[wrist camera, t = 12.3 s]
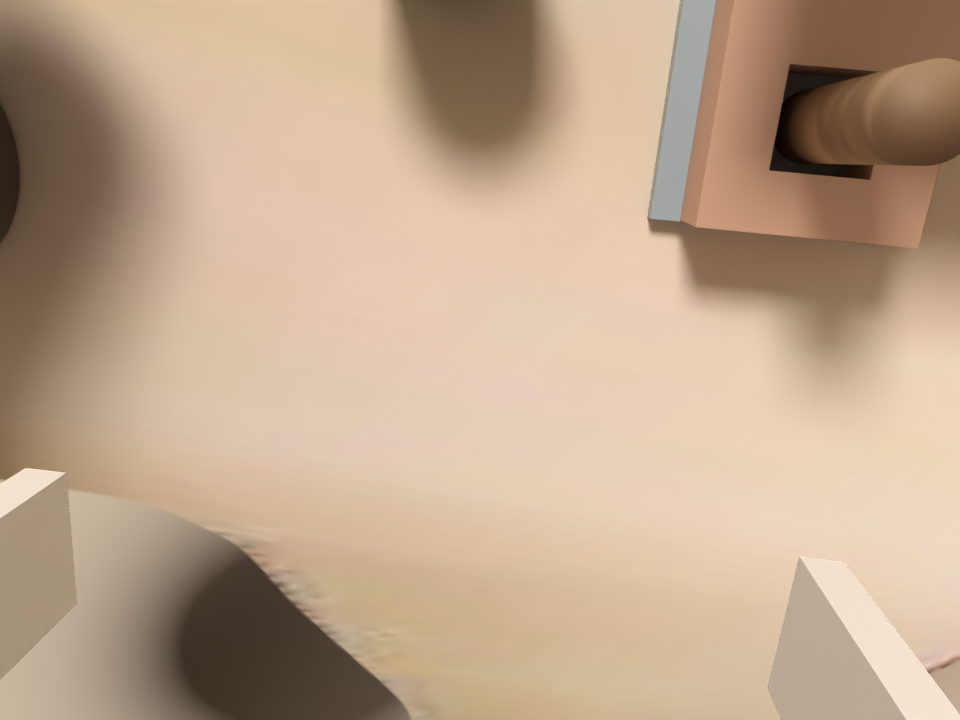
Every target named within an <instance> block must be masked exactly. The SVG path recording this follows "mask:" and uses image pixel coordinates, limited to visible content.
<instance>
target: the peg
mask: <svg viewBox="0 0 960 720" xmlns="http://www.w3.org/2000/svg"><path fill="white" fill-rule="evenodd" d="M774 146H775V148H776V149H777V151H778V152H779V153H780V154H781V155H782V156H783V157H784V158H786V159H787V160H789V161H792V162H795V163H803V164H851V165H900V166H931V165H936V164H940V163H943V162H946V161H948V160H950V159H952V158H954V157H955V156H957V155H959V154H960V62H959V61H956V60H953V59H947V58H936V59H930V60H925V61H921V62H917V63H913V64H909V65H905V66H901V67H897V68H893V69H889V70H885V71H881V72H877V73H873V74H869V75H865V76H861V77H856V78H852V79H848V80H844V81H840V82H836V83H832V84H828V85H824V86H820V87H816V88H812V89H808V90H804V91H800V92H798V93H795V94H793V95H792V96H790V97H789V98H787V99H786V100H785V101H784V102H783V103H782V106H781V112H780V117H779V122H778V127H777V132H776V137H775V142H774Z"/></svg>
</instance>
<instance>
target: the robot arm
mask: <svg viewBox="0 0 960 720" xmlns="http://www.w3.org/2000/svg"><path fill="white" fill-rule="evenodd" d="M18 187H19V171H18V160H17V153H16V148H15V144H14V140H13V136H12V133H11V130H10V127H9V124H8V121H7V119H6V116H5V114H4V112H3V110H2V108H1V106H0V242H1V240H2V239H3V237H4V235H5V233H6V231H7V230H8V227H9V225H10V223H11V220H12V217H13V214H14V211H15V207H16V202H17V196H18ZM76 604H77V600H76V588H75V575H74V562H73V550H72V537H71V524H70V512H69V500H68V486H67V474H66V472H57V471H48V470H39V469H31V468H25V469H23V470H21V471H20V472H18V473H17V474H15V475H13V476H12V477H10V478H9V479H7V480H6V481H4V482H2V483H1V484H0V679H1V678H2V677H3V676H4V675H5V674H6V673H7V672H8V671H9V670H10V669H11V668H12V667H14V666H15V665H16V664H17V662H18V661H20V660H21V658H22V657H24V656H25V655H26V654H27V653H28V652H29V651H30V650H31V649H32V648H33V647H34V646H35V645H36V643H38V642H39V641H40V640H41V639H42V638H43V637H44V636H45V635H46V634H47V633H48V632H49V631H50V629H52V628H53V627H54V626H55V625H56V624H57V623H58V621H60V620H61V619H62V618H63V617H64V616H65V615H66V614H67V613H68V612H69V611H70V610H71V609H72V608H73V607H74V606H75V605H76ZM768 690H769V692H770V695H771V697H772V699H773V701H774V704H775V706H776V708H777V711H778V713H779V715H780V718H781V720H960V714H959V713H958V712H957V710H956V709H955V708H954V707H953V705H952V704H951V702H950V701H949V700H948V698H947V697H946V696H945V695H944V693H943V692H942V691H941V689H940V688H939V687H938V685H937V684H936V683H935V682H934V680H933V679H932V677H931V676H930V675H929V673H928V672H927V671H926V669H925V668H924V667H923V665H922V664H921V663H920V661H919V660H918V659H917V657H916V656H915V655H914V653H913V652H912V651H911V649H910V648H909V647H908V646H907V644H906V643H905V642H904V640H903V639H902V638H901V636H900V635H899V634H898V632H897V631H896V630H895V628H894V627H893V626H892V624H891V623H890V622H889V620H888V619H887V618H886V616H885V615H884V614H883V612H882V611H881V610H880V608H879V607H878V606H877V604H876V603H875V602H874V601H873V599H872V598H871V597H870V595H869V594H868V593H867V591H866V590H865V589H864V587H863V586H862V585H861V583H860V582H859V581H858V579H857V578H856V577H855V575H854V574H853V573H852V571H851V570H850V569H849V567H848V566H847V565H846V563H845V562H844V561H835V560H827V559H818V558H809V557H800V556H799V560H798V564H797V568H796V572H795V576H794V580H793V584H792V589H791V593H790V597H789V601H788V605H787V609H786V613H785V618H784V622H783V626H782V630H781V634H780V638H779V642H778V647H777V651H776V655H775V659H774V663H773V667H772V671H771V676H770V680H769V684H768Z"/></svg>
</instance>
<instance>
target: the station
mask: <svg viewBox="0 0 960 720" xmlns="http://www.w3.org/2000/svg"><path fill="white" fill-rule="evenodd" d="M936 58H947V59H953V60H956V61H959V62H960V0H680V6H679V13H678V20H677V26H676V33H675V39H674V46H673V53H672V59H671V66H670V72H669V79H668V86H667V92H666V99H665V105H664V112H663V118H662V125H661V132H660V138H659V145H658V151H657V158H656V165H655V171H654V178H653V184H652V191H651V198H650V204H649V211H648V218H650V219H658V220H668V221H678V222H686V223H688V224H690V225H692V226H694V227H698V228H709V229H719V230H729V231H740V232H750V233H761V234H771V235H781V236H792V237H802V238H812V239H823V240H833V241H844V242H854V243H864V244H875V245H885V246H896V247H906V248H916V249H918V247H919V243H920V239H921V235H922V231H923V228H924V224H925V220H926V216H927V212H928V208H929V204H930V201H931V197H932V193H933V189H934V185H935V181H936V177H937V173H938V170H939V166H940V164H936V165H931V166H900V165H851V164H803V163H795V162H792V161H789V160H787V159H786V158H784V157H783V156H782V155H781V154H780V153H779V152H778V151H777V149H776V148H775V146H774V142H775V137H776V132H777V127H778V122H779V117H780V112H781V106H782V103H783V102H784V101H785V100H786V99H787V98H789V97H790V96H792V95H793V94H795V93H798V92H800V91H804V90H808V89H812V88H816V87H820V86H824V85H828V84H832V83H836V82H840V81H844V80H848V79H852V78H856V77H861V76H865V75H869V74H873V73H877V72H881V71H885V70H889V69H893V68H897V67H901V66H905V65H909V64H913V63H917V62H921V61H925V60H930V59H936Z"/></svg>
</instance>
